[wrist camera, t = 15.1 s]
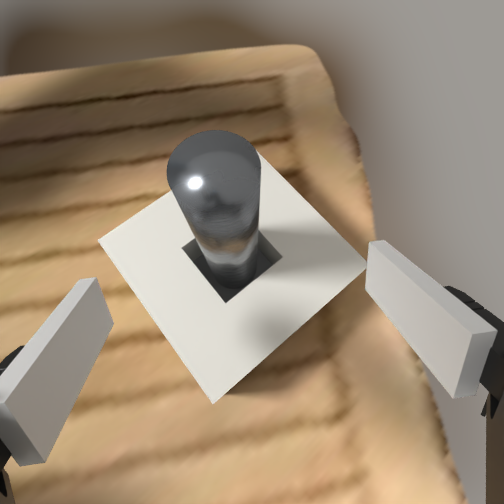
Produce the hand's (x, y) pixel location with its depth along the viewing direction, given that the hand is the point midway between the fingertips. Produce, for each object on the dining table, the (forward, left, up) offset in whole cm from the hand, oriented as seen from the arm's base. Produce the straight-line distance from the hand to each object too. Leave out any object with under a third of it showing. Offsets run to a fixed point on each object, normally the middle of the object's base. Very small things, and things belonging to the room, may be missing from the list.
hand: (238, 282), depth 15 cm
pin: (-4, +2, -11) cm, 12 cm away
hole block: (-4, +2, -12) cm, 13 cm away
